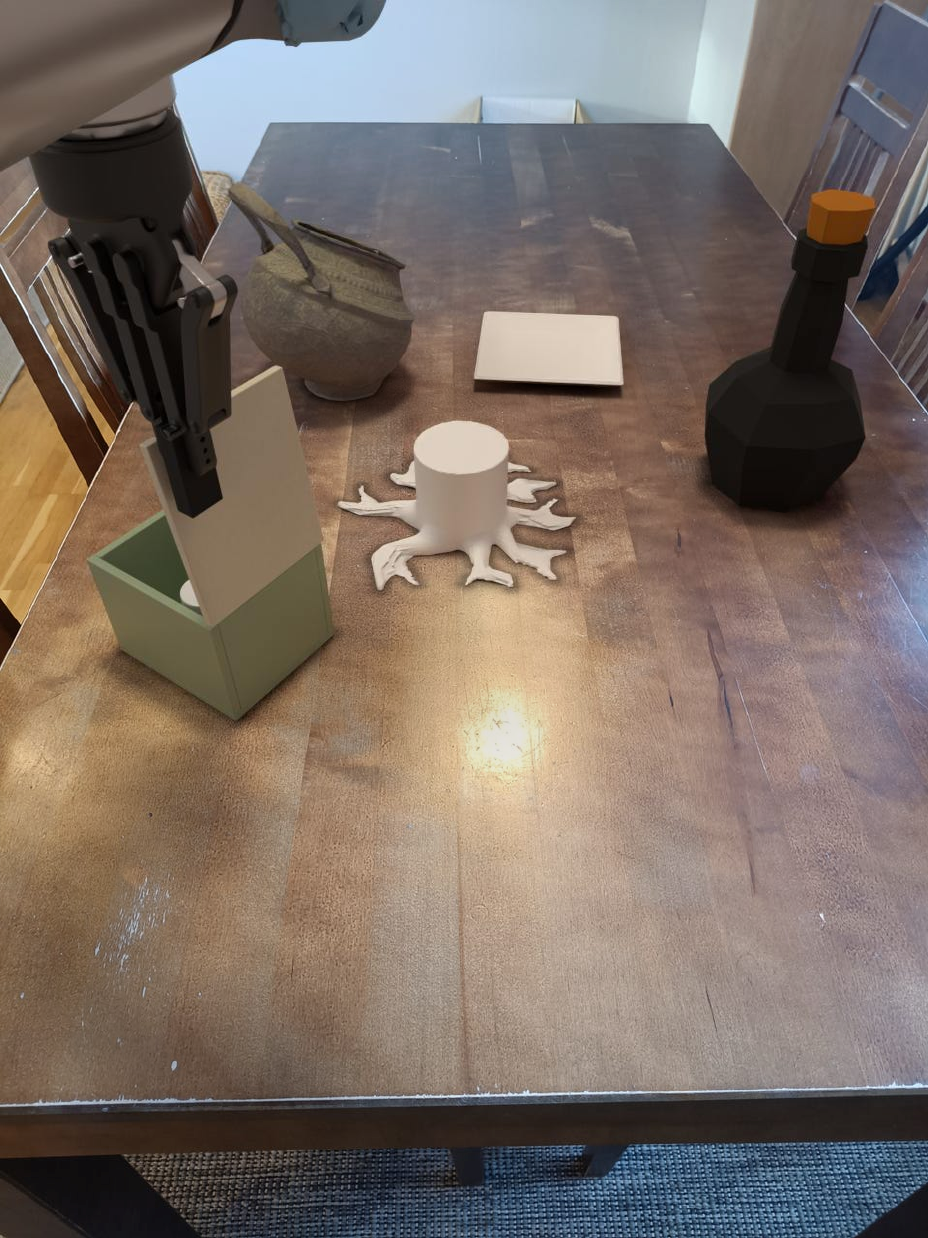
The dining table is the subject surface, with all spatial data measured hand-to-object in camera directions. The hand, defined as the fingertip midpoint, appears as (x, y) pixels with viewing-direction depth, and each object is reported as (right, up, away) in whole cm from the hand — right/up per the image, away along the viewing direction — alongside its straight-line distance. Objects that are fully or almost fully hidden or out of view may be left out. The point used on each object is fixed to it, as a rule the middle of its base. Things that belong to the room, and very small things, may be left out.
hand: (200, 504), depth 60 cm
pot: (+1, +22, +55) cm, 59 cm away
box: (-4, -10, +22) cm, 24 cm away
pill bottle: (-4, -11, +19) cm, 23 cm away
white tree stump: (+17, +3, +35) cm, 39 cm away
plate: (+29, +27, +60) cm, 71 cm away
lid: (+1, +1, +6) cm, 6 cm away
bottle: (+51, +8, +40) cm, 65 cm away
